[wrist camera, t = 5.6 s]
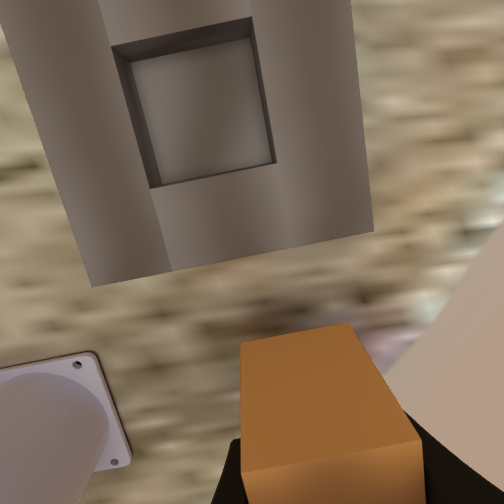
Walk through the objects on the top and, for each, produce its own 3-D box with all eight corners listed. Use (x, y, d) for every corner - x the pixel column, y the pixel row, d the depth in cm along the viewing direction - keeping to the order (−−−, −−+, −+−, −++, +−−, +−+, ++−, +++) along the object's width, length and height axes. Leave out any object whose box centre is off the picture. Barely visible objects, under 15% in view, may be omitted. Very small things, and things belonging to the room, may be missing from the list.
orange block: (260, 429, 16) (273, 593, 10) (240, 343, 14) (241, 473, 9) (359, 410, 16) (430, 565, 10) (347, 322, 14) (421, 439, 8)
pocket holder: (114, 266, 19) (92, 287, 16) (25, -11, 15) (-25, -49, 12) (353, 219, 18) (374, 231, 16) (318, -74, 15) (337, -129, 12)
